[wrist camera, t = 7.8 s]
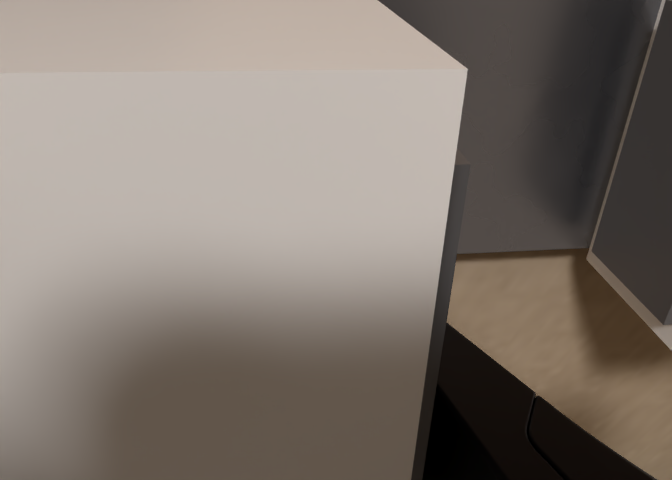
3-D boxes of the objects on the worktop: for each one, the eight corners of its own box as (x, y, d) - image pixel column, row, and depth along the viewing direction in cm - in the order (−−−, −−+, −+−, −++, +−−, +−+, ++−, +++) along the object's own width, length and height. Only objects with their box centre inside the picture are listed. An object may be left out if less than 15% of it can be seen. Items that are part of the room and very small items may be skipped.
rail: (50, -35, 15) (23, -27, 13) (856, -25, 17) (922, -19, 16) (113, 254, 19) (98, 287, 18) (744, 227, 22) (785, 254, 20)
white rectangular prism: (156, 447, 13) (87, 805, 8) (53, -34, 8) (-348, 77, 3) (349, 431, 13) (405, 757, 8) (370, -30, 8) (554, 69, 3)
